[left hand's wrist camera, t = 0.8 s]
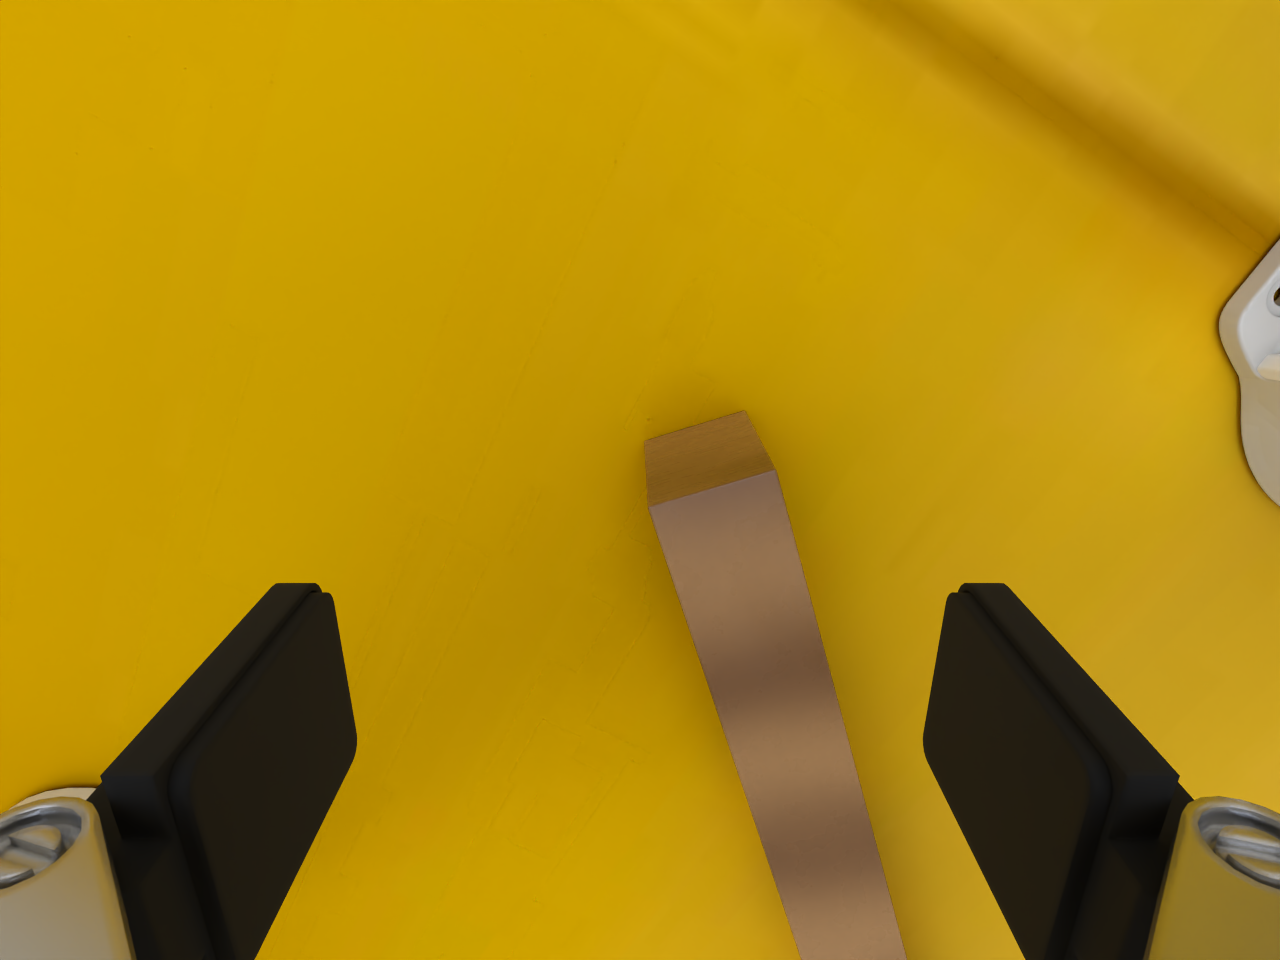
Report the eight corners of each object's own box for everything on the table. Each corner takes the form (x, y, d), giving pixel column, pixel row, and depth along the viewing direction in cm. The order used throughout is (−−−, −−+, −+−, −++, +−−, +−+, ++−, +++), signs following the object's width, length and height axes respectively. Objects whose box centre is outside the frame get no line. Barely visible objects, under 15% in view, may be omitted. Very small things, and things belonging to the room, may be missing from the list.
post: (643, 440, 33) (647, 507, 26) (744, 409, 33) (776, 469, 26) (884, 1169, 52) (923, 1319, 45) (950, 1156, 52) (999, 1305, 45)
